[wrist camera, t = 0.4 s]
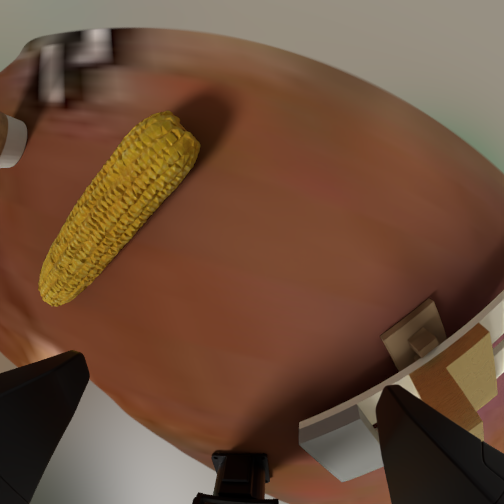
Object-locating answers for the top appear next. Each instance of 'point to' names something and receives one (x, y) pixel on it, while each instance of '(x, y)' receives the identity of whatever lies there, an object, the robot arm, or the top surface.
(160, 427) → the top surface
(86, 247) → the food
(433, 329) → the beam stand
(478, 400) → the block
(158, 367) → the top surface
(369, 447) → the white twin rails
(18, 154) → the coffee cup
